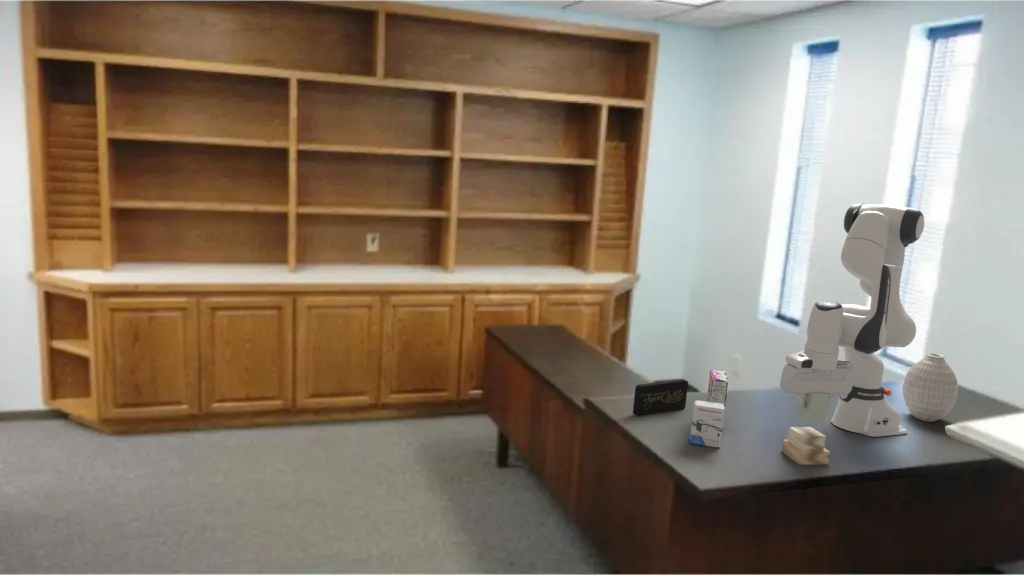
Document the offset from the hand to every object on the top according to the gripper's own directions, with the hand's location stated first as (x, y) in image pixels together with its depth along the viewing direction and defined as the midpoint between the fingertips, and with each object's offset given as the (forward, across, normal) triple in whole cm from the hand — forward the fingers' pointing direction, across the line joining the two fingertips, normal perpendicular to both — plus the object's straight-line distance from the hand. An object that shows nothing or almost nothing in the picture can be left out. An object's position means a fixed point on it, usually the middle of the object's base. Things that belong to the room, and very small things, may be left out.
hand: (812, 407), depth 207 cm
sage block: (+3, 0, 0) cm, 3 cm away
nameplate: (+15, +30, -36) cm, 49 cm away
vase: (+14, -64, -32) cm, 73 cm away
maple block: (+11, +1, 0) cm, 11 cm away
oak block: (+15, 0, 0) cm, 15 cm away
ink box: (+15, +26, -10) cm, 31 cm away
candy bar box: (+15, +17, -24) cm, 33 cm away
